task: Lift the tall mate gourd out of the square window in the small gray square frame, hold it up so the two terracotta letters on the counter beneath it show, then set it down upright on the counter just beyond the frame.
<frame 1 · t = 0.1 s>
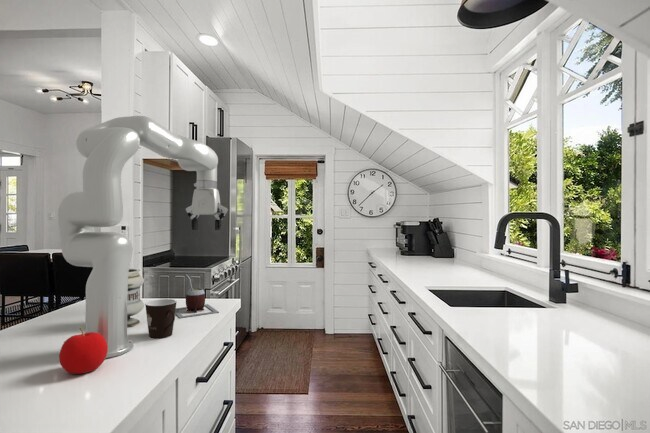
hand: (206, 229, 137), 31 cm above the worktop, tool pointing down, fingers open, 9 cm apart
mate gourd: (194, 311, 134), on the worktop, touching gray square frame
apothecary jar: (123, 324, 117), on the worktop
coffee mug: (160, 337, 105), on the worktop
fruit: (83, 371, 82), on the worktop
gray square frame: (194, 311, 134), on the worktop
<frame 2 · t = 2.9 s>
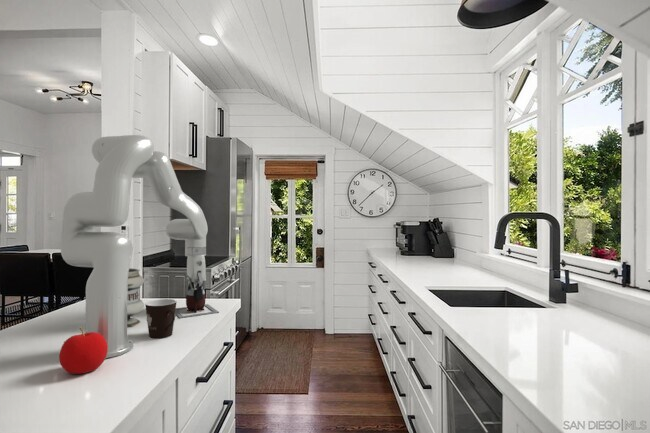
hand: (195, 297, 134), 5 cm above the worktop, tool pointing down, fingers closed on mate gourd, 7 cm apart
mate gourd: (194, 311, 134), on the worktop, touching gray square frame, gripper
everything else where it was.
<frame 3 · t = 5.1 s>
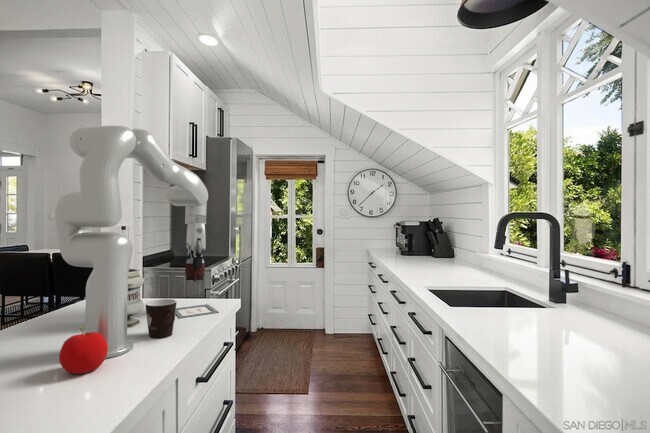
hand: (194, 266, 133), 17 cm above the worktop, tool pointing down, fingers closed on mate gourd, 7 cm apart
mate gourd: (194, 280, 133), point 12 cm above the worktop, touching gripper
everything else where it was.
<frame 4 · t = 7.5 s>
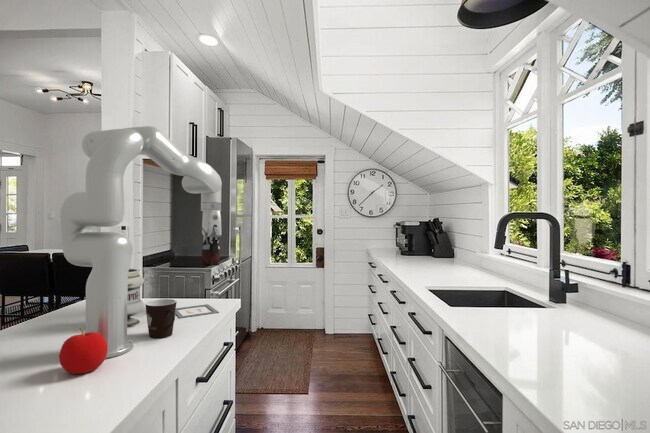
hand: (210, 252, 137), 22 cm above the worktop, tool pointing down, fingers closed on mate gourd, 7 cm apart
mate gourd: (210, 266, 137), point 17 cm above the worktop, touching gripper
everything else where it was.
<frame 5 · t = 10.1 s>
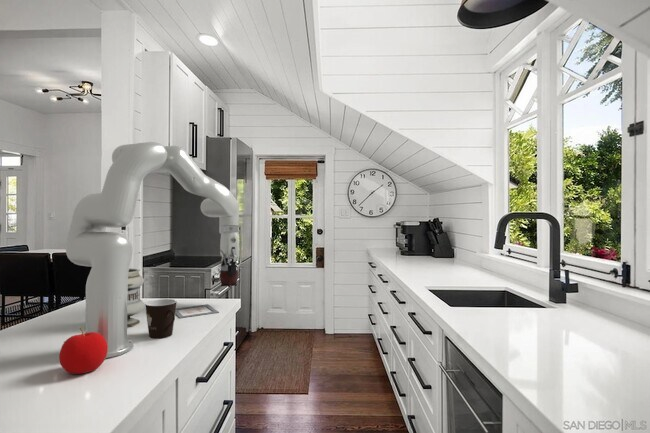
hand: (228, 273, 141), 13 cm above the worktop, tool pointing down, fingers closed on mate gourd, 7 cm apart
mate gourd: (228, 286, 141), point 8 cm above the worktop, touching gripper
everything else where it was.
when the fingers open (6 cm above the worktop, at t = 12.3 s): mate gourd drops 1 cm, on the worktop.
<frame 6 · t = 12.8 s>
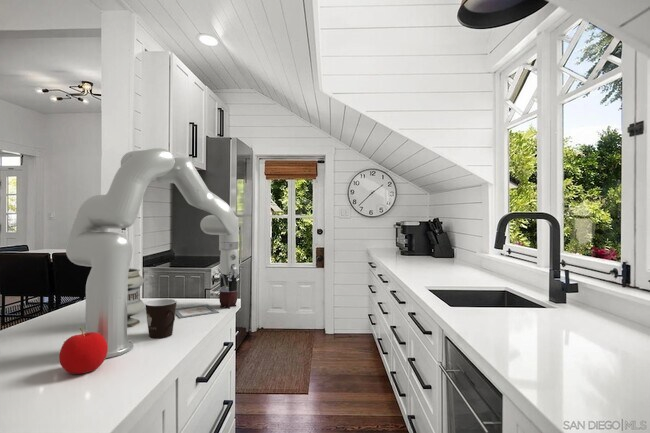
hand: (228, 288, 141), 7 cm above the worktop, tool pointing down, fingers open, 9 cm apart
mate gourd: (227, 307, 140), on the worktop
everything else where it was.
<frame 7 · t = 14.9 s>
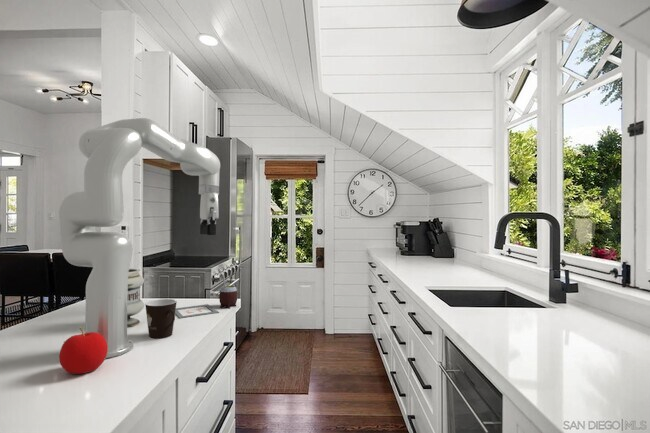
hand: (207, 234, 137), 29 cm above the worktop, tool pointing down, fingers open, 9 cm apart
nothing on the worktop moved.
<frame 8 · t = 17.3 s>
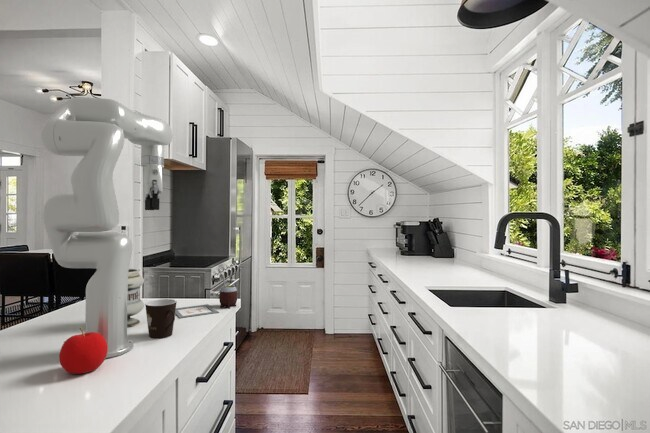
hand: (151, 209, 127), 38 cm above the worktop, tool pointing down, fingers open, 9 cm apart
nothing on the worktop moved.
at the end: mate gourd 0.6 cm from the target spot on the worktop beside the gray square frame, on the worktop; mate gourd tilted 0°; the gripper is holding nothing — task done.
